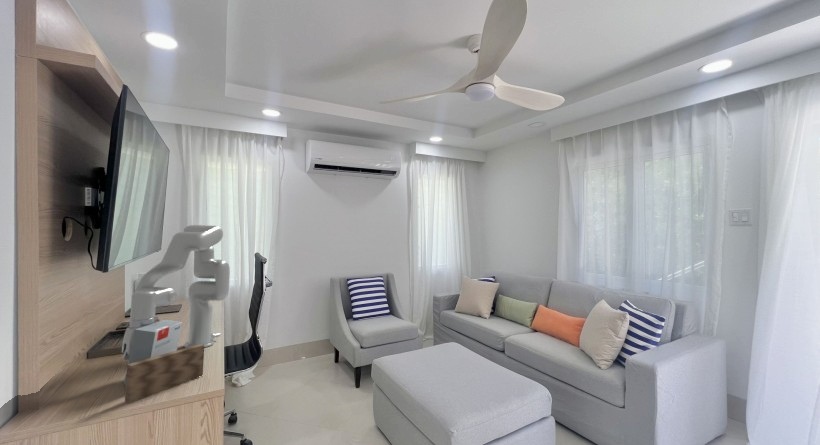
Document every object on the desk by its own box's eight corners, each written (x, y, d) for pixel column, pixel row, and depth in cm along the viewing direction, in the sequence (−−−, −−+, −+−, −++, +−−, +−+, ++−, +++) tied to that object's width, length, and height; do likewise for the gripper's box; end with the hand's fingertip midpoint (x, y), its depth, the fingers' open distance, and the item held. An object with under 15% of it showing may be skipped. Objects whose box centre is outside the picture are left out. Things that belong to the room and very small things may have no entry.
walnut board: (198, 374, 129) (200, 343, 129) (202, 376, 128) (204, 344, 128) (124, 401, 107) (127, 364, 108) (128, 403, 106) (131, 365, 106)
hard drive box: (144, 388, 116) (154, 332, 117) (122, 385, 116) (132, 329, 117) (174, 370, 132) (182, 321, 133) (155, 368, 132) (163, 318, 132)
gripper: (158, 317, 134) (155, 362, 133) (113, 325, 121) (109, 376, 120) (169, 320, 131) (166, 366, 130) (123, 328, 118) (119, 380, 117)
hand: (139, 371), depth 125 cm, fingers closed
